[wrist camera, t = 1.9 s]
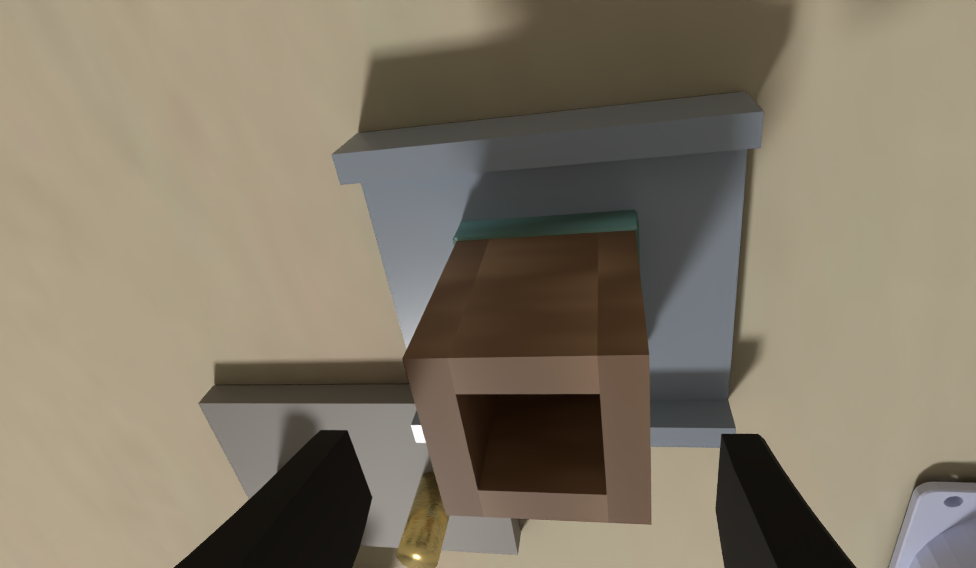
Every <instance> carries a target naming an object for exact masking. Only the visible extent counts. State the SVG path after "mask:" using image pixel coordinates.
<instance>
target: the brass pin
mask: <svg viewBox="0 0 976 568" xmlns="http://www.w3.org/2000/svg"><path fill="white" fill-rule="evenodd" d="M449 517H450V516H449V515H446V513H445V509H444V506H443V502H442V498H441V495H440V491H439V488H438V484H437V481H436V477H435V473H434V471H432V472H427V473H425V474H424V475H423V476H422V477H421V479H420V482H419V485H418V488H417V491H416V495H415V498H414V501H413V504H412V507H411V510H410V513H409V516H408V519H407V522H406V525H405V528H404V531H403V534H402V537H401V540H400V543H399V547H398V550H397V558H398V559H399V561H400V562H401V563H402V564H404V565H405V566H407V567H409V568H435V567H436V566H437V564H438V560H439V556H440V552H441V548H442V545H443V541H444V537H445V533H446V529H447V525H448V521H449Z"/></svg>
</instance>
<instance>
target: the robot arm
mask: <svg viewBox="0 0 976 568" xmlns="http://www.w3.org/2000/svg"><path fill="white" fill-rule="evenodd" d="M371 502H372V495H371V492H370V489H369V487H368V484H367V481H366V479H365V476H364V473H363V470H362V468H361V465H360V462H359V460H358V457H357V454H356V452H355V449H354V446H353V444H352V441H351V438H350V435H349V433H348V430H320V431H319V432H318V433H317V434H316V435H315V436H313V437H312V438H311V439H310V440H309V441H308V442H307V443H306V444H305V445H304V446H303V447H302V448H301V449H300V450H299V451H298V452H297V453H296V454H295V455H294V456H293V457H292V458H291V459H290V460H289V461H288V462H287V463H286V464H285V465H284V466H283V467H282V468H281V469H280V470H279V471H278V472H277V473H276V474H275V475H274V476H273V477H272V478H271V479H270V480H269V481H268V482H267V483H266V484H265V485H264V486H263V487H262V488H261V489H260V490H258V491H257V492H256V493H255V494H254V495H253V496H252V497H251V498H250V499H249V500H248V501H247V502H246V503H245V504H244V505H243V506H242V507H241V508H240V509H239V510H238V511H237V512H236V513H235V514H234V515H232V516H231V517H230V518H229V519H228V520H227V521H226V522H225V523H224V524H223V525H221V526H220V527H219V528H218V529H217V530H216V531H215V532H214V533H213V534H211V535H210V536H209V537H208V538H207V539H206V540H205V541H204V542H203V543H201V544H200V545H199V546H198V547H197V548H196V549H195V550H194V551H193V552H191V553H190V554H189V555H188V556H187V557H186V558H185V559H183V560H182V561H181V562H180V563H179V564H178V565H176V566H175V567H174V568H352V566H353V564H354V561H355V558H356V556H357V553H358V550H359V548H360V544H361V541H362V537H363V533H364V530H365V526H366V522H367V518H368V514H369V510H370V506H371ZM716 515H717V522H718V529H719V536H720V542H721V548H722V555H723V561H724V567H725V568H856V566H855V565H854V564H853V563H852V561H851V560H850V559H849V558H848V557H847V555H846V554H845V553H844V552H843V550H842V549H841V548H840V546H839V545H838V544H837V542H836V541H835V540H834V539H833V537H832V536H831V535H830V533H829V532H828V531H827V530H826V528H825V527H824V526H823V524H822V523H821V522H820V520H819V519H818V518H817V516H816V515H815V514H814V512H813V511H812V510H811V508H810V507H809V506H808V504H807V503H806V501H805V500H804V499H803V497H802V496H801V494H800V493H799V492H798V490H797V489H796V487H795V486H794V484H793V483H792V482H791V480H790V479H789V477H788V476H787V474H786V473H785V471H784V470H783V468H782V467H781V465H780V464H779V462H778V461H777V459H776V457H775V456H774V454H773V453H772V451H771V450H770V448H769V446H768V445H767V443H766V441H765V440H764V439H763V438H762V437H761V436H760V435H759V434H721V443H720V457H719V471H718V484H717V498H716ZM889 568H976V483H966V482H926V483H923V484H920V485H919V486H917V487H916V488H915V490H914V491H913V494H912V497H911V500H910V503H909V506H908V509H907V513H906V516H905V519H904V522H903V525H902V528H901V531H900V534H899V537H898V541H897V544H896V547H895V550H894V553H893V556H892V559H891V562H890V565H889Z"/></svg>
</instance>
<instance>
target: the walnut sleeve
mask: <svg viewBox="0 0 976 568" xmlns="http://www.w3.org/2000/svg"><path fill="white" fill-rule="evenodd" d="M453 244H454V248H453V250H452V252H451V254H450V256H449V259H448V261H447V263H446V265H445V267H444V269H443V272H442V274H441V276H440V278H439V280H438V282H437V285H436V287H435V289H434V291H433V293H432V296H431V298H430V300H429V302H428V304H427V306H426V309H425V311H424V313H423V315H422V317H421V319H420V322H419V324H418V326H417V328H416V330H415V332H414V335H413V337H412V339H411V341H410V343H409V345H408V348H407V350H406V352H405V354H404V356H403V363H404V367H405V370H406V374H407V377H408V381H409V384H410V388H411V392H412V395H413V399H414V402H415V406H416V409H417V413H418V416H419V420H420V424H421V427H422V431H423V434H424V438H425V441H426V445H427V449H428V452H429V456H430V459H431V463H432V466H433V470H434V473H435V477H436V481H437V484H438V488H439V491H440V495H441V498H442V502H443V506H444V509H445V513H446V515H449V516H472V517H494V518H516V519H538V520H560V521H582V522H605V523H627V524H649V525H651V449H650V364H649V347H648V338H647V330H646V321H645V312H644V304H643V295H642V286H641V278H640V245H639V223H638V215H637V211H635V210H624V211H610V212H595V213H581V214H566V215H552V216H537V217H523V218H508V219H494V220H479V221H465V222H461V223H460V225H459V227H458V229H457V231H456V233H455V236H454V238H453Z"/></svg>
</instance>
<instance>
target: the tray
mask: <svg viewBox="0 0 976 568" xmlns="http://www.w3.org/2000/svg"><path fill="white" fill-rule="evenodd" d="M763 116H764V111H763V110H762V109H761V108H760V106H759V105H758V104H757V103H756V102H755V101H754V100H753V99H752V98H751V96H750V95H749V94H748V93H747V92H746V91H744V92H735V93H726V94H716V95H707V96H698V97H688V98H679V99H670V100H661V101H651V102H642V103H633V104H623V105H614V106H605V107H596V108H586V109H577V110H568V111H558V112H549V113H540V114H531V115H521V116H512V117H503V118H493V119H484V120H475V121H466V122H456V123H447V124H438V125H428V126H419V127H410V128H401V129H391V130H382V131H373V132H363V133H357V134H356V135H354V136H353V137H352V138H351V139H350V140H348V141H347V142H346V143H345V144H344V145H343V146H341V147H340V148H339V149H338V150H337V151H335V152H334V153H333V154H332V158H333V161H334V164H335V168H336V171H337V175H338V178H339V181H340V185H344V184H355V183H361V185H362V188H363V192H364V196H365V199H366V203H367V207H368V210H369V214H370V218H371V221H372V225H373V229H374V232H375V236H376V240H377V243H378V247H379V251H380V254H381V258H382V262H383V265H384V269H385V273H386V276H387V280H388V284H389V287H390V291H391V295H392V298H393V302H394V306H395V309H396V313H397V317H398V320H399V324H400V328H401V331H402V335H403V339H404V342H405V346H406V349H407V348H408V345H409V343H410V341H411V339H412V337H413V335H414V332H415V330H416V328H417V326H418V324H419V322H420V319H421V317H422V315H423V313H424V311H425V309H426V306H427V304H428V302H429V300H430V298H431V296H432V293H433V291H434V289H435V287H436V285H437V282H438V280H439V278H440V276H441V274H442V272H443V269H444V267H445V265H446V263H447V261H448V259H449V256H450V254H451V252H452V250H453V248H454V244H453V238H454V236H455V233H456V231H457V229H458V227H459V225H460V223H461V222H465V221H479V220H494V219H508V218H523V217H537V216H552V215H566V214H581V213H595V212H610V211H624V210H635V211H637V215H638V223H639V245H640V278H641V286H642V295H643V304H644V312H645V321H646V330H647V338H648V347H649V364H650V447H705V448H720V443H721V434H735V431H736V427H735V424H734V420H733V416H732V413H731V409H730V405H729V402H728V395H729V382H730V369H731V356H732V343H733V330H734V317H735V304H736V291H737V279H738V266H739V253H740V240H741V227H742V214H743V201H744V188H745V175H746V162H747V149H755V148H761V139H762V127H763ZM411 428H412V431H413V434H414V438H415V441H416V443H426V441H425V438H424V434H423V431H422V427H421V424H420V420H419V416H418V413H417V410H416V413H415V415H414V418H413V421H412V423H411Z"/></svg>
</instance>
